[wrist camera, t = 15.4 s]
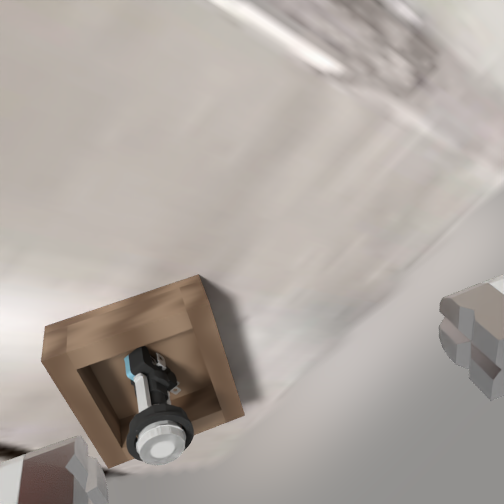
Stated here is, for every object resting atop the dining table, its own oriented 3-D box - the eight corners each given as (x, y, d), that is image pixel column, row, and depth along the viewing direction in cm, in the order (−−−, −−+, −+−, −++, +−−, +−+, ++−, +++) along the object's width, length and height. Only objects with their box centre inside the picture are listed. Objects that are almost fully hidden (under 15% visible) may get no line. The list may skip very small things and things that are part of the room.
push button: (195, 365, 47) (219, 448, 39) (155, 397, 48) (170, 486, 39) (150, 331, 43) (165, 415, 35) (106, 366, 44) (112, 457, 36)
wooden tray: (198, 274, 43) (209, 302, 39) (233, 383, 51) (244, 415, 48) (45, 326, 41) (41, 361, 37) (106, 431, 49) (108, 468, 46)
